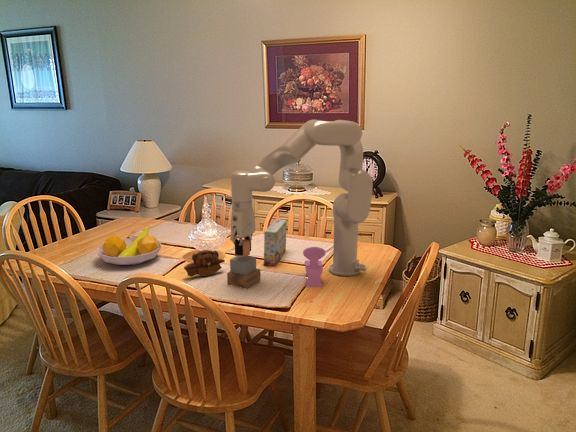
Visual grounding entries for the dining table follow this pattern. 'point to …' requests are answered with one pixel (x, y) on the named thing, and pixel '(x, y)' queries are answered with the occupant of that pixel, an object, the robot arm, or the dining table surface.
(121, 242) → the fruit bowl
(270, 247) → the snack box
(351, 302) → the dining table surface
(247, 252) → the terracotta cylinder
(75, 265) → the dining table surface
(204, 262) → the wooden carving
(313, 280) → the pink tall piece
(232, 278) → the walnut slab
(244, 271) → the slate block
